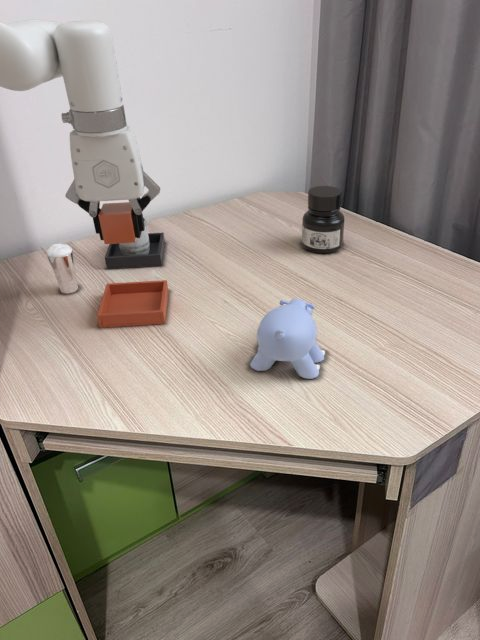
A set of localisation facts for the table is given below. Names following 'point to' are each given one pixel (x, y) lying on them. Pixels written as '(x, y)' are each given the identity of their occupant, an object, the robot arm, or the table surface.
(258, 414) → the table surface
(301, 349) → the hippopotamus toy
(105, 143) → the robot arm
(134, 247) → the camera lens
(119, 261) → the charcoal tray
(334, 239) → the ink bottle
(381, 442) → the table surface
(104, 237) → the terracotta block
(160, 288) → the terracotta tray
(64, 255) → the milkshake
